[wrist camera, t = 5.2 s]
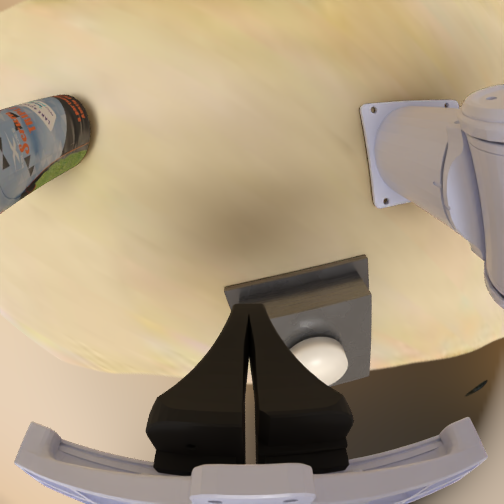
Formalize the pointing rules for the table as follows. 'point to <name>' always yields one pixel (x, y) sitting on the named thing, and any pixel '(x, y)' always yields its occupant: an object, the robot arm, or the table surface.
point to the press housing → (318, 308)
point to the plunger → (322, 358)
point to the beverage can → (39, 144)
